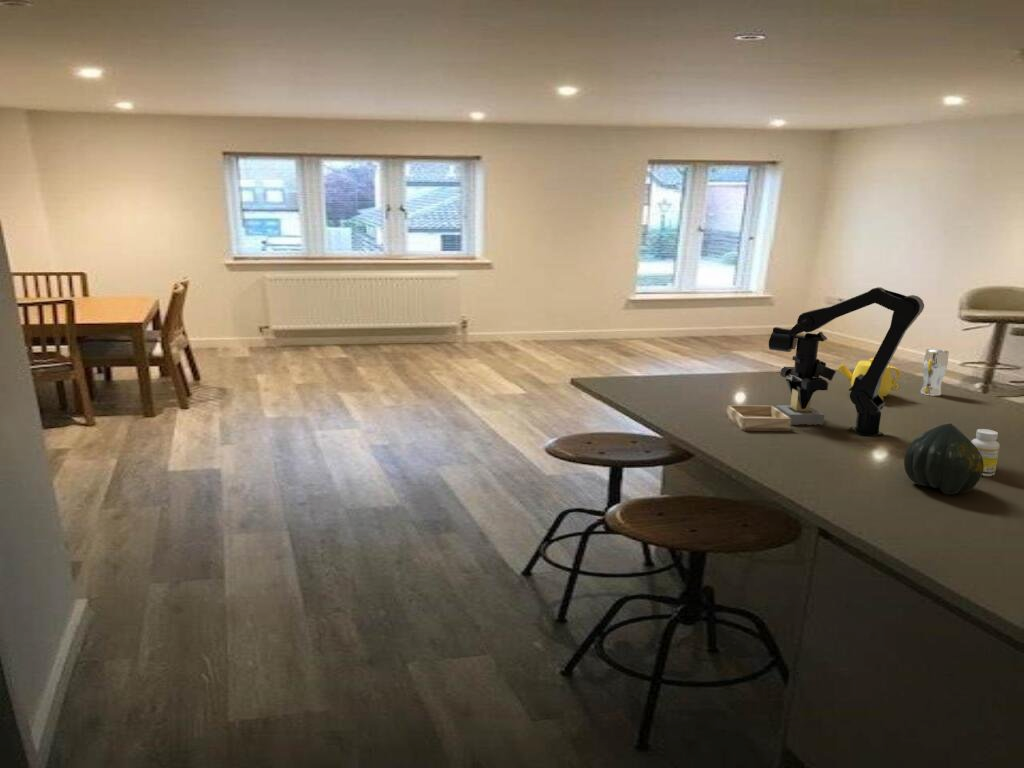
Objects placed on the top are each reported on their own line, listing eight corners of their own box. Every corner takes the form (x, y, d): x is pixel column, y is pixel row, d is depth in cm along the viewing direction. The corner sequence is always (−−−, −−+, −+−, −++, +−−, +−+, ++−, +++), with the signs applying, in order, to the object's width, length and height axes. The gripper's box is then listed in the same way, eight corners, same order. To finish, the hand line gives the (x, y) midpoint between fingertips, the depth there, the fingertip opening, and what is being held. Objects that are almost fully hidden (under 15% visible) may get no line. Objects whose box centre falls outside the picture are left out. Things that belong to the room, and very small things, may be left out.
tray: (790, 430, 198) (791, 418, 197) (742, 430, 197) (743, 418, 196) (770, 416, 211) (772, 405, 210) (725, 416, 210) (726, 405, 210)
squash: (933, 479, 148) (979, 424, 148) (879, 458, 162) (921, 408, 162) (968, 517, 152) (1011, 464, 153) (912, 493, 166) (952, 444, 167)
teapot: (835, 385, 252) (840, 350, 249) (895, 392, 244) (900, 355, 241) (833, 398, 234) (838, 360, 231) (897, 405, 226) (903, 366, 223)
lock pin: (808, 421, 207) (811, 392, 205) (794, 421, 207) (798, 391, 204) (802, 417, 211) (805, 388, 208) (789, 417, 210) (792, 388, 208)
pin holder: (823, 424, 204) (824, 414, 203) (789, 424, 204) (790, 414, 203) (807, 415, 214) (808, 405, 213) (775, 414, 213) (776, 405, 212)
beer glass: (914, 392, 244) (921, 349, 240) (927, 390, 247) (934, 348, 243) (933, 397, 238) (940, 353, 234) (946, 395, 240) (954, 352, 237)
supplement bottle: (967, 466, 172) (975, 426, 169) (995, 472, 168) (1003, 431, 166) (964, 472, 167) (971, 431, 165) (992, 478, 164) (1000, 436, 162)
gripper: (850, 361, 195) (842, 415, 199) (818, 348, 213) (812, 398, 217) (810, 361, 195) (803, 415, 198) (782, 348, 213) (777, 398, 217)
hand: (800, 406), depth 208 cm, fingers closed on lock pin, 4 cm apart
